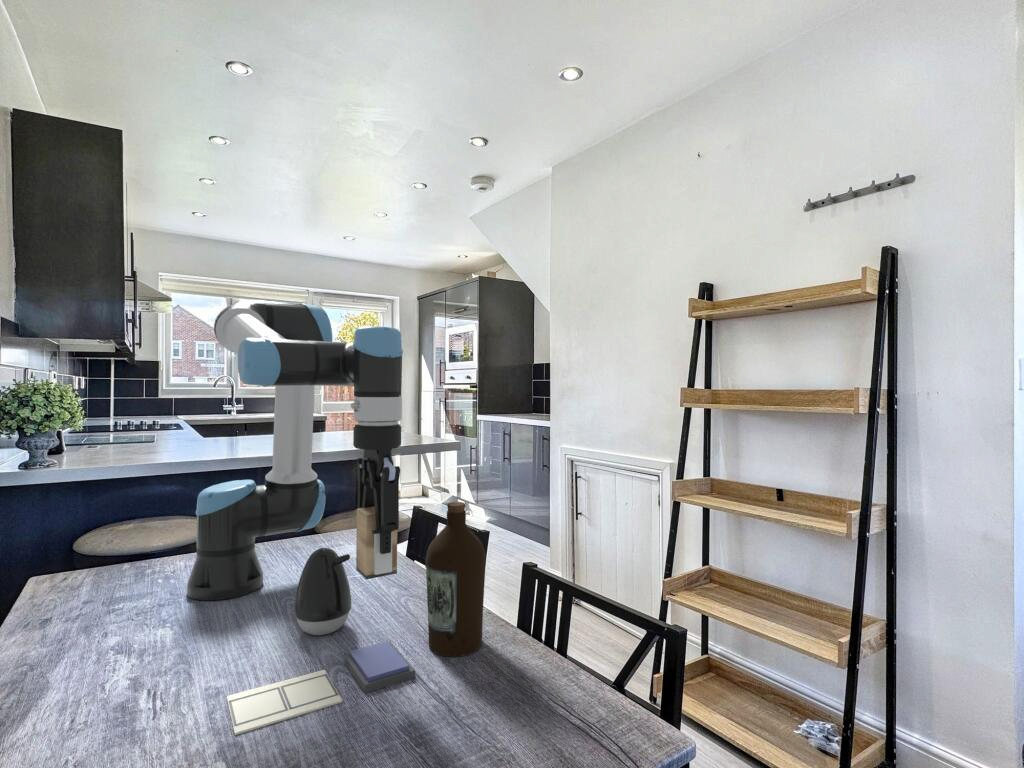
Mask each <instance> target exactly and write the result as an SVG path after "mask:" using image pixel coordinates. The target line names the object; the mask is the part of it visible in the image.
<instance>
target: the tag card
mask: <svg viewBox="0 0 1024 768" xmlns="http://www.w3.org/2000/svg"><path fill="white" fill-rule="evenodd" d="M226 701H227V707H228V710H229V715H230V720H231V725H232V728H233V733H234V736H237V735H240V734H243V733H246V732H250V731H254V730H257V729H259V728H263V727H267V726H269V725H272V724H276V723H279V722H283V721H285V720H289V719H292V718H296V717H298V716H302V715H305V714H308V713H312V712H314V711H318V710H322V709H325V708H328V707H330V706H335V705H337V704H341V703H343V698H342V696H341V695H340V694H339V692H338V690H337V688H336V687H335V685H334V683H333V682H332V680H331V678H330V676H329V674H328V673H327V671H326V669H322V670H318V671H314V672H310V673H307V674H303V675H300V676H295V677H293V678H289V679H285V680H280V681H278V682H273V683H269V684H266V685H264V686H259V687H256V688H252V689H251V688H250V689H248V690H244V691H240V692H237V693H233V694H229V695H227V696H226Z"/></svg>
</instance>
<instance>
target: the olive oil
mask: <svg viewBox="0 0 1024 768" xmlns="http://www.w3.org/2000/svg"><path fill="white" fill-rule="evenodd" d="M446 505H447V511H446V525H445V526H444V527H443V529H442V530H440V532H439V533H438V534H437V535H436V536H435V537H434V538H433V540H432V541H431V542H430V544H429V546H428V549H427V552H426V556H425V563H424V565H425V575H426V576H425V578H426V598H427V599H426V600H427V622H428V623H427V625H428V626H427V627H428V630H427V631H428V634H427V635H428V647H429V649H430V650H431V652H433V653H434V654H436V655H439V656H443V657H451V658H453V657H455V658H456V657H462V656H468V655H470V654H473V653H476V651H478V650H479V649H480V648H481V646H482V644H483V622H484V621H483V619H484V618H483V617H484V616H483V615H484V602H485V601H484V599H485V598H484V596H485V581H486V565H487V555H486V550H485V548H484V545H483V542H482V541H481V540H480V538H479V537H478V536H477V535H476V534H475V533H474V532H473V531H472V530H471V529H470V528H469V527H468V525H467V523H466V521H467V520H466V517H467V511H466V503H465V502H462V501H451V502H448V503H447V504H446Z"/></svg>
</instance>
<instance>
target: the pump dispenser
mask: <svg viewBox="0 0 1024 768" xmlns="http://www.w3.org/2000/svg"><path fill="white" fill-rule="evenodd" d="M350 560H351V555H350V554H349V553H347V554H343V555H339V554H338V553H337V552H336V551H335V550H334V549H332V548H330V547H329V548H328V547H320V548H318V549H315V550H314V551H313V552H312V553H311V554H310V555H309V557H308V558H307V560H306V562H305V565H304V566H303V569H302V572H301V575H300V576H299V577H300V578H299V580H298V583H297V588H296V594H295V598H294V606H293V607H294V608H293V615H294V617H295V618H296V622H297V624H298V626H299V628H300V629H301V630H302V631H303V632H305V633H306V634H310V635H312V636H325V635H329V634H332V633H334V632H335V631H337V630H339V629H340V628H341V627H343V625H344V624H345V623H346V621H347V620H348V618H349V615H350V611H351V609H352V595H351V594H352V593H351V588H350V587H351V586H350V583H349V579H348V578H349V577H348V575H347V572H346V569H345V566H344V563H345V562H347V561H350Z"/></svg>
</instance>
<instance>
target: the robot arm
mask: <svg viewBox="0 0 1024 768" xmlns="http://www.w3.org/2000/svg"><path fill="white" fill-rule="evenodd" d="M213 332H214V336H215V338H216V340H217V341H218V342H219V344H220V345H221V347H222V348H224V349H225V350H227V351H229V352H232V353H234V354H237V372H238V377H239V380H240V381H241V382H242V383H243V384H245V385H248V386H261V387H263V388H265V387H272V386H274V387H275V388H274V410H273V411H274V413H273V415H274V417H273V442H272V443H273V444H272V468H271V470H270V471H269V472H268V473H266V474H265V477H264V484H261V485H257V483H256V482H255V481H254V480H253V479H241V480H240V479H238V480H230V481H226V482H220V483H218V484H213V485H211V486H209V487H207V488H203V489H202V491H200V492H199V493H198V495H197V499H196V500H197V501H196V510H195V515H196V555H195V557H196V558H195V560H194V563H193V566H192V568H191V571H190V575H189V578H188V580H187V584H186V595H187V597H189V598H190V599H194V600H197V601H222V600H228V599H233V598H237V597H241V596H244V595H247V594H251V593H252V592H255V591H256V590H259V588H261V587H262V586H263V585H264V571H263V569H262V565H261V563H260V560H259V558H258V556H257V553H256V538H258V537H265V536H272V535H278V534H279V535H280V534H285V533H292V532H295V533H299V532H301V531H304V530H310V529H313V528H315V527H316V526H317V525H318V524H319V523H320V522H321V519H322V518H323V515H324V512H325V507H326V506H325V505H326V499H327V498H326V494H325V493H326V487H325V484H324V482H323V481H322V480H321V479H318V474H317V472H316V471H315V470H314V469H312V460H313V459H312V456H313V454H312V453H313V433H314V432H313V431H314V410H315V409H314V407H315V405H314V404H315V387H316V386H318V387H319V386H323V387H324V386H326V387H327V386H329V387H330V386H331V387H332V386H334V387H335V386H336V387H337V386H339V387H340V386H341V387H343V386H344V387H353V402H352V403H350V408H351V409H352V410H353V420H354V422H357V424H355V425H354V426H353V428H352V429H353V443H352V444H353V447H354V448H356V449H358V450H363V456H362V457H357V458H356V466H357V509H358V508H366V507H375V515H376V528H377V529H376V530H372V533H373V534H374V574H375V575H378V574H383V573H388V572H392V531H394V530H397V531H398V530H399V526H400V525H399V524H400V521H399V519H400V518H399V516H400V512H399V509H400V508H399V507H400V505H399V503H400V500H399V499H400V498H399V497H400V496H399V495H400V491H399V490H400V487H399V486H400V485H399V484H400V475H401V467H400V465H398V466H397V465H396V466H394V461H393V456H392V450H394V449H399V448H400V447H401V446H402V426H401V424H399V422H400V421H402V420H403V396H402V385H403V384H402V379H403V376H402V374H403V354H404V349H403V345H402V342H403V341H402V333H401V331H400V330H399V329H397V328H396V327H390V326H389V327H388V326H359V327H357V328H356V329H355V331H354V334H353V335H354V337H353V341H352V342H342V341H341V342H340V341H339V342H338V341H333V330H332V323H331V320H330V318H329V316H328V313H327V312H326V310H325V309H324V308H322V307H320V306H318V305H313V304H308V303H295V302H294V303H292V302H284V301H283V302H282V301H270V300H269V301H268V300H260V299H250V300H243V301H238V302H236V303H232V304H230V305H228V306H227V307H225V308H223V309H222V310H221V311H220V312H219V313H218V314H217V316H216V318H215V320H214V323H213Z"/></svg>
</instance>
